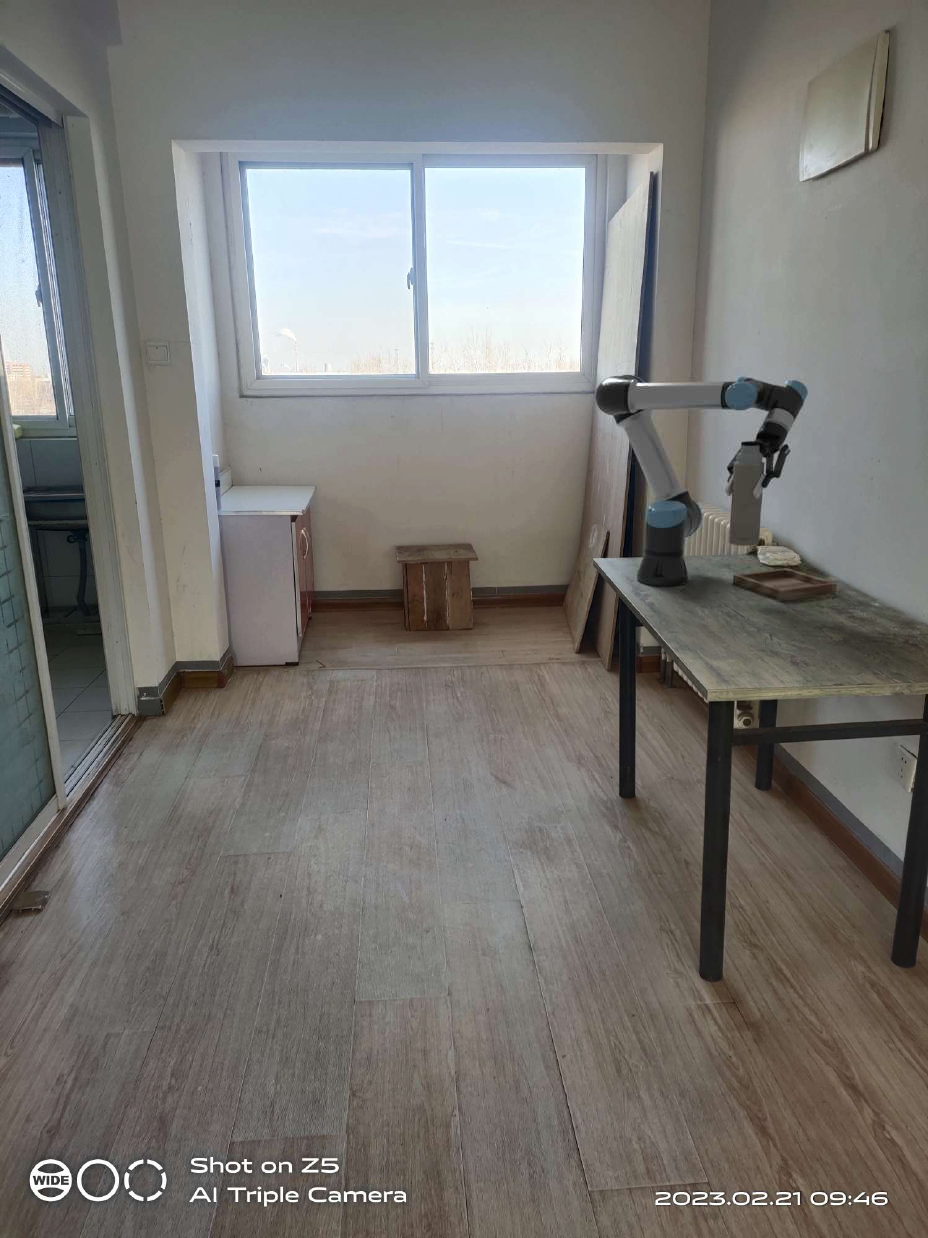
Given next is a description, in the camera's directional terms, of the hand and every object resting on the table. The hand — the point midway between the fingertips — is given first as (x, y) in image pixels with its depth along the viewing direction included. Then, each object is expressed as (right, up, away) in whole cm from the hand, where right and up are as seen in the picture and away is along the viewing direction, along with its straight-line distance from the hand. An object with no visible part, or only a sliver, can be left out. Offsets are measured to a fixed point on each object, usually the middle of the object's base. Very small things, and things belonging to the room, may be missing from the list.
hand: (741, 494), depth 228 cm
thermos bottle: (+3, -13, +6) cm, 15 cm away
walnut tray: (+17, -25, +16) cm, 35 cm away
